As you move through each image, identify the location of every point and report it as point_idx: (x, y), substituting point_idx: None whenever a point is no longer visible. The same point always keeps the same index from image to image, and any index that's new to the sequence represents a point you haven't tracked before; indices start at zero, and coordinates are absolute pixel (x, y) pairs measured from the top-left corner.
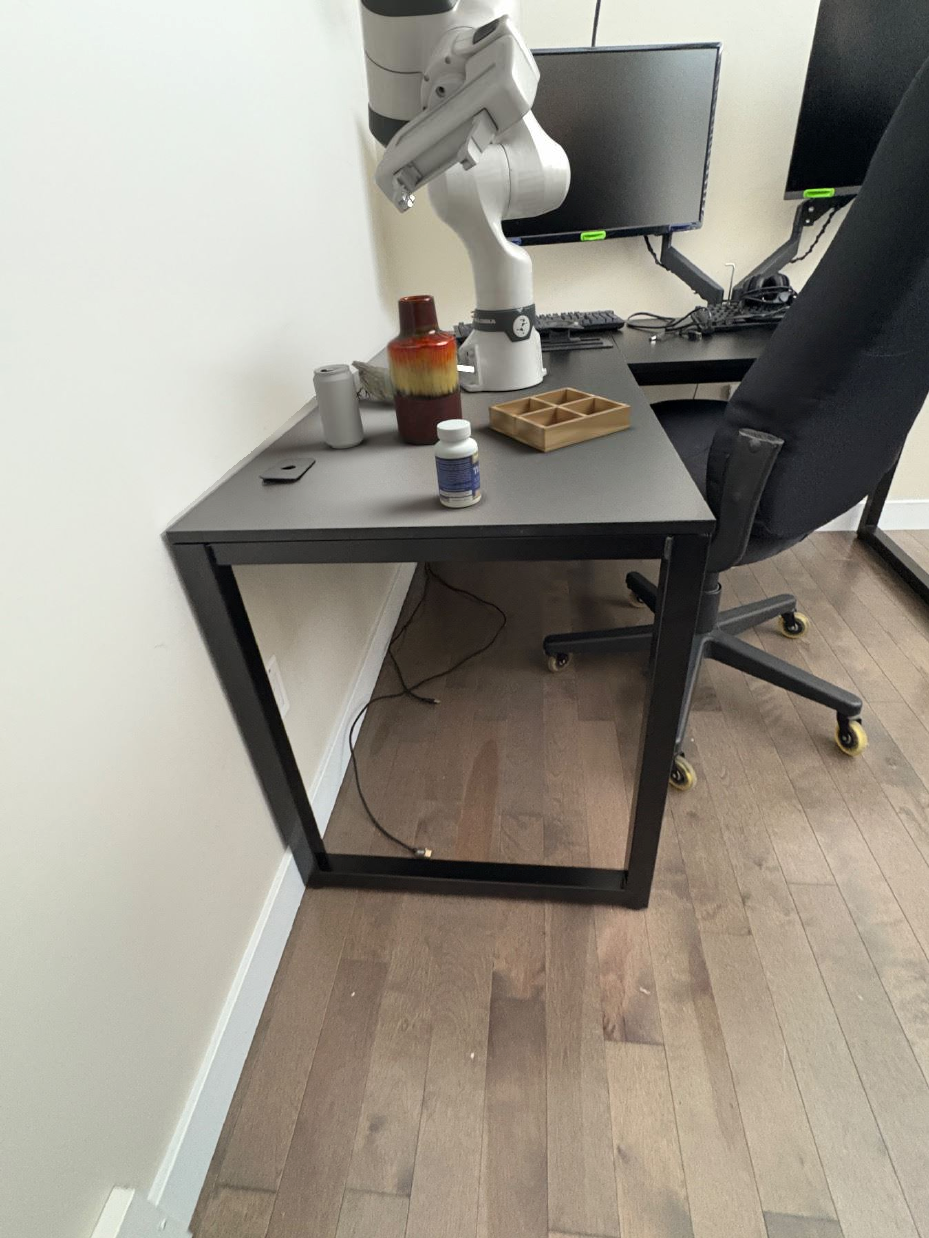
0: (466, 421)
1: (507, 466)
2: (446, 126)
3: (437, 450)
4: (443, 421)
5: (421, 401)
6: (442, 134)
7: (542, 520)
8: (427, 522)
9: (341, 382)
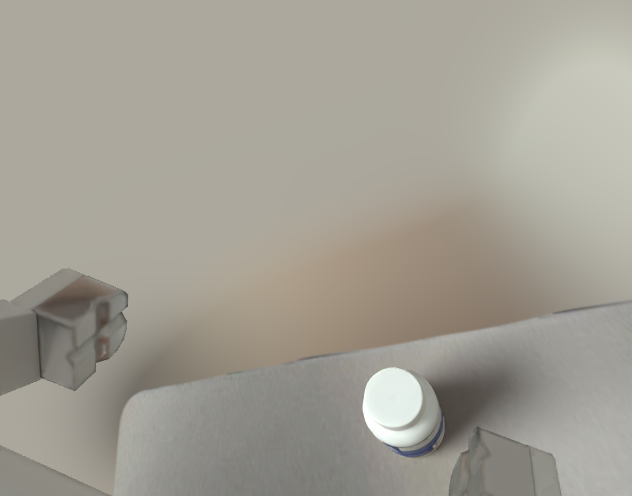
0: (372, 412)
1: None
2: (41, 473)
3: (422, 378)
4: (417, 412)
5: None
6: (104, 493)
7: (288, 371)
8: (436, 346)
9: None
